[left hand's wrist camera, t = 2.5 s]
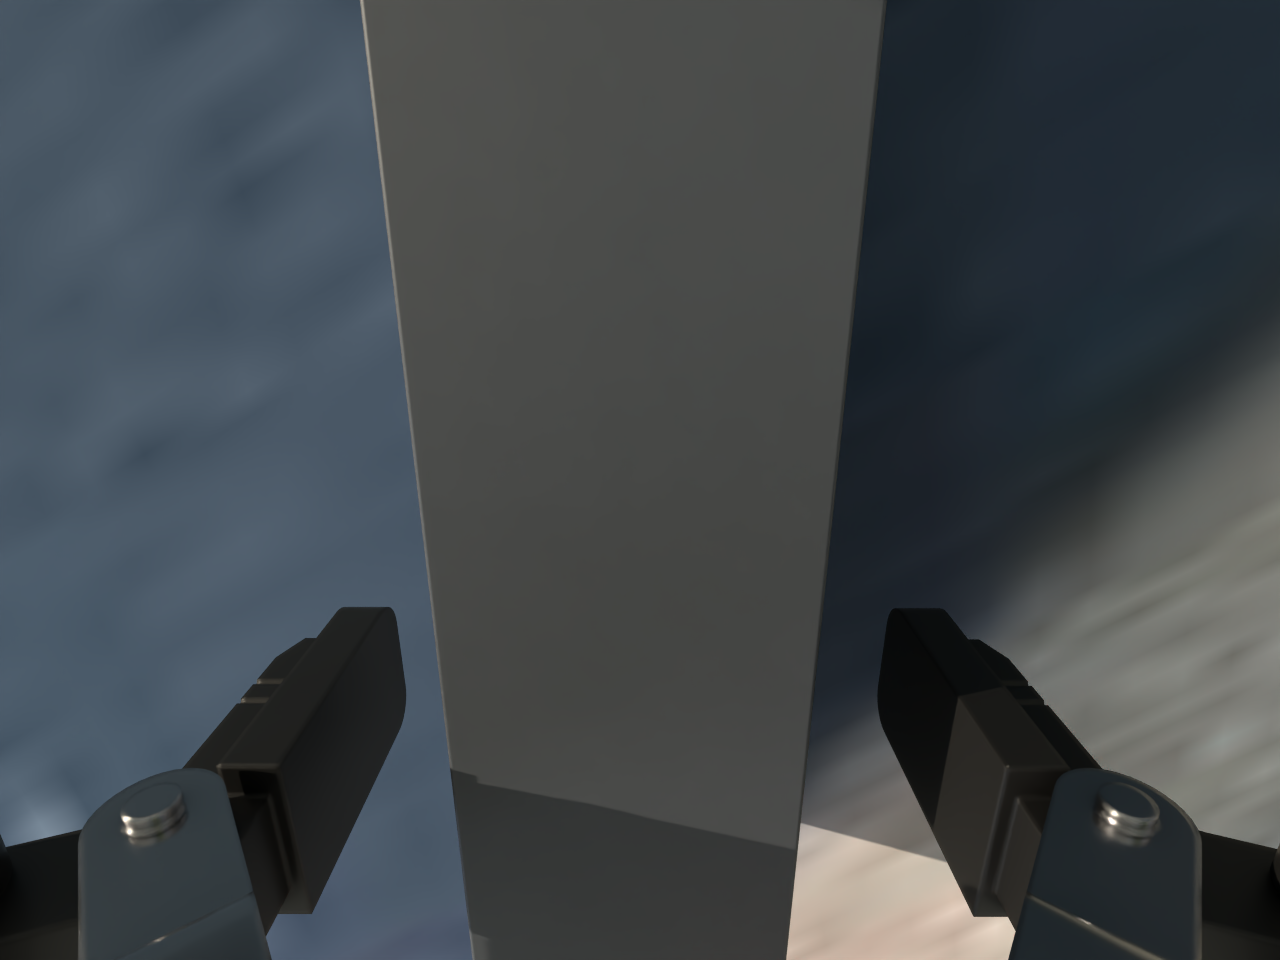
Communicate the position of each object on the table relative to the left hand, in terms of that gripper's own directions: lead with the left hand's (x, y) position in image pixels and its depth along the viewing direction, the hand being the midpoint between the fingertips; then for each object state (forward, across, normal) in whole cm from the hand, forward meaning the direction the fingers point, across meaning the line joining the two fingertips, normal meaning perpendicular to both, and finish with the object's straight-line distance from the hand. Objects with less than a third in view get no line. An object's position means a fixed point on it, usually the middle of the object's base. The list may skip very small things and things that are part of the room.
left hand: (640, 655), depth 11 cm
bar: (+3, 0, -31) cm, 31 cm away
